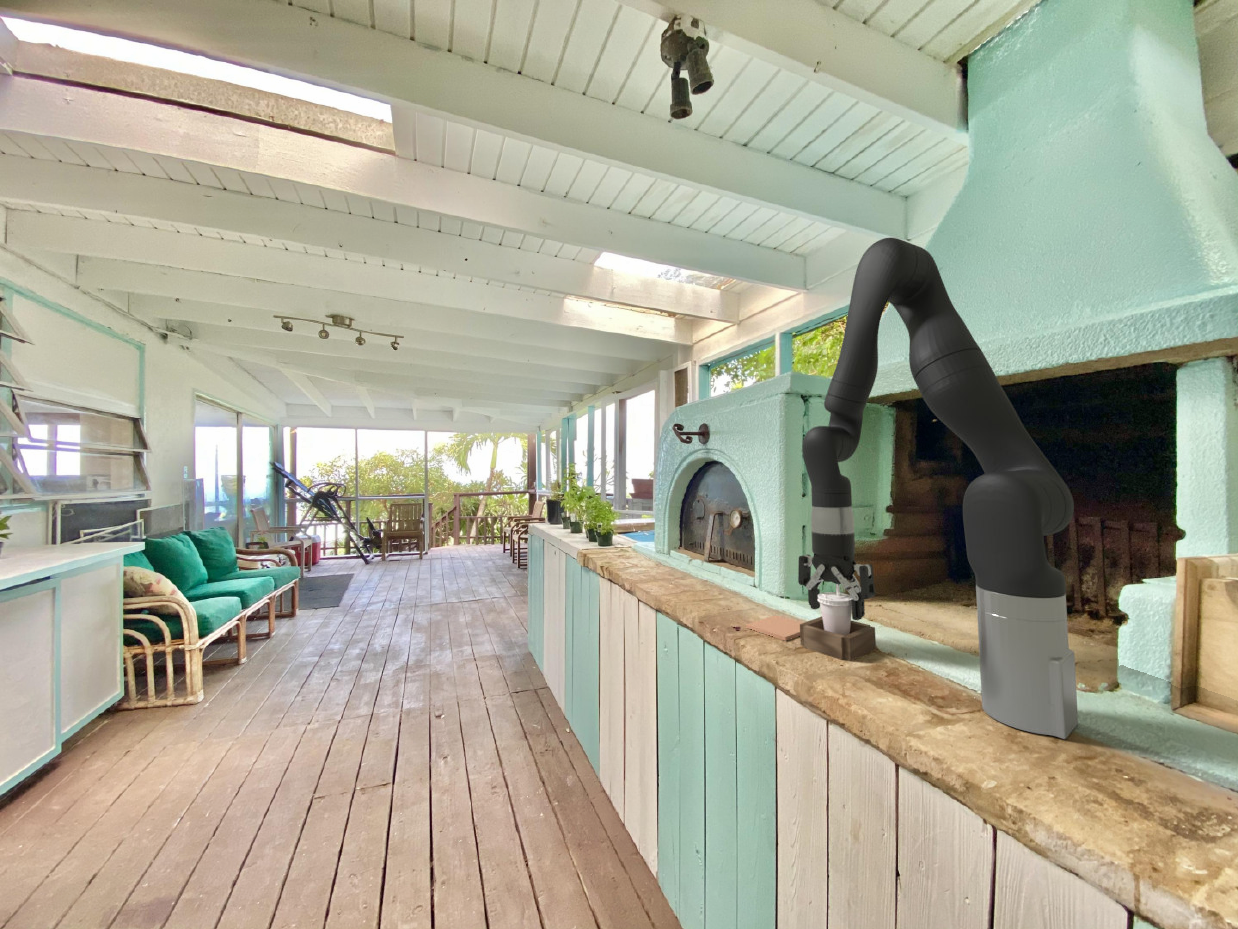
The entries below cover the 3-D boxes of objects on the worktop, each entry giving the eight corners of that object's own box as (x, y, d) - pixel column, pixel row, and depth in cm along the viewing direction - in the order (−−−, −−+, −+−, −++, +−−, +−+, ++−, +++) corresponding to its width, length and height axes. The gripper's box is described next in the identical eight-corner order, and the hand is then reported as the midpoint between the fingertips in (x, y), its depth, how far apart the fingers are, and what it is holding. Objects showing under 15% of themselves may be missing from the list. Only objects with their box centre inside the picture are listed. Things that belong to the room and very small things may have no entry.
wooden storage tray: (877, 648, 87) (876, 626, 87) (848, 662, 82) (847, 639, 82) (828, 633, 96) (827, 614, 96) (798, 645, 90) (797, 625, 90)
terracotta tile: (815, 630, 98) (814, 626, 98) (785, 641, 92) (785, 637, 92) (775, 618, 106) (775, 615, 106) (746, 628, 101) (746, 624, 101)
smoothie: (862, 653, 85) (859, 577, 85) (828, 654, 85) (824, 578, 86) (846, 640, 92) (843, 569, 92) (814, 641, 92) (810, 570, 92)
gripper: (880, 531, 85) (883, 619, 85) (810, 524, 97) (813, 601, 97) (858, 535, 81) (861, 628, 81) (788, 528, 93) (791, 608, 93)
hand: (835, 613), depth 89 cm, fingers open, 8 cm apart
